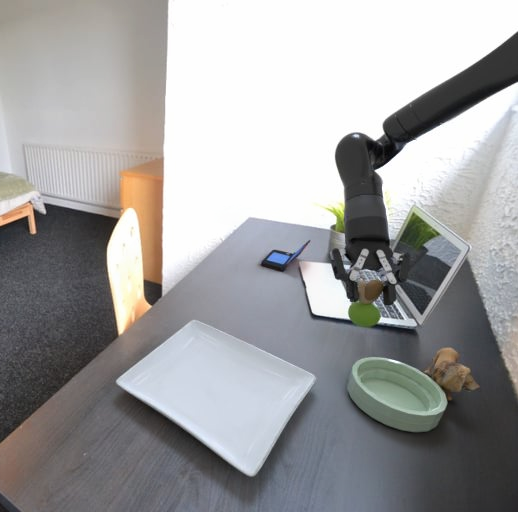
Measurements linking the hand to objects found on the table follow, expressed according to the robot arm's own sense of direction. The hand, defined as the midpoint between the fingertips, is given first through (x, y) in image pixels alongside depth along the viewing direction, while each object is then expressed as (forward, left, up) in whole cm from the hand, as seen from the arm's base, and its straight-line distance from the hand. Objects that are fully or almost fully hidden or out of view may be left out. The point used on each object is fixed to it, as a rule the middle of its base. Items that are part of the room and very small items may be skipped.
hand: (371, 302), depth 70 cm
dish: (-3, +10, -14) cm, 18 cm away
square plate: (+28, +14, -15) cm, 35 cm away
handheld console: (+6, -45, -15) cm, 47 cm away
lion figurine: (-14, +5, -15) cm, 21 cm away
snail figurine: (0, -2, -7) cm, 7 cm away
